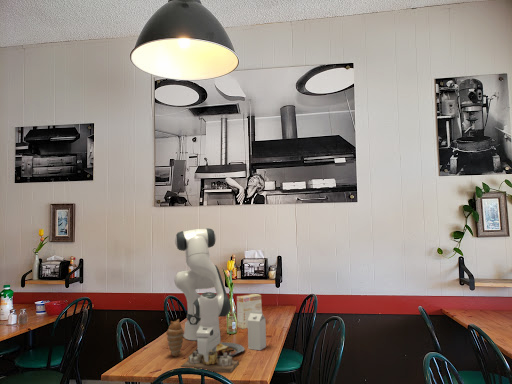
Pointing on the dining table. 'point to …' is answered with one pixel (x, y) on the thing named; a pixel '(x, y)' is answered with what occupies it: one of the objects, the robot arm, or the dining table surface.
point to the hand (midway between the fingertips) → (210, 358)
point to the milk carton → (256, 331)
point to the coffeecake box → (247, 308)
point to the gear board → (222, 364)
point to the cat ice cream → (175, 337)
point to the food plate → (227, 349)
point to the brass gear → (211, 358)
